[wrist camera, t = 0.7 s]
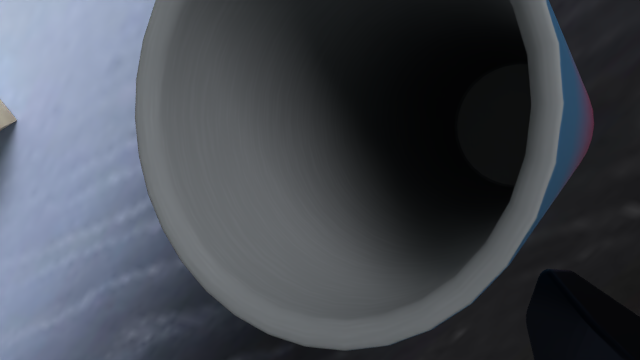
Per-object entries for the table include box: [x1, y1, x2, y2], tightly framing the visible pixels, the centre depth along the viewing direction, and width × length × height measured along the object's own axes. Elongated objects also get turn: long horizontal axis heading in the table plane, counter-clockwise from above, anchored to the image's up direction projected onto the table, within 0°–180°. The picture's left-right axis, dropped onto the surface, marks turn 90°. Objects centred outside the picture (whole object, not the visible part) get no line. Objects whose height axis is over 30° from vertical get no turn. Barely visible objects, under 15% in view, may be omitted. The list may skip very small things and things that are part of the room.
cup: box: [135, 0, 594, 351], centre depth 14 cm, size 7×7×15 cm
